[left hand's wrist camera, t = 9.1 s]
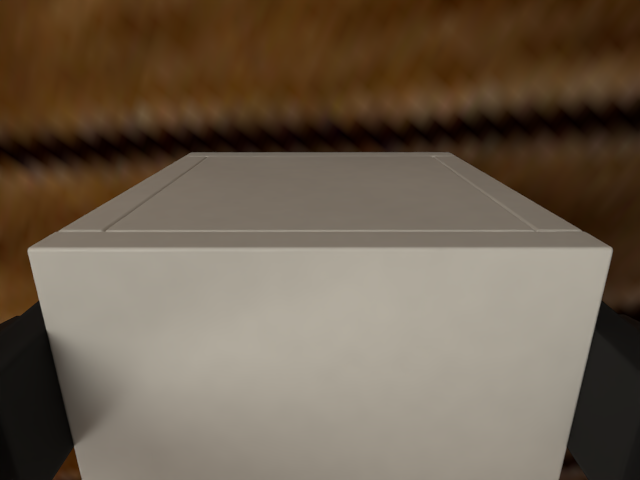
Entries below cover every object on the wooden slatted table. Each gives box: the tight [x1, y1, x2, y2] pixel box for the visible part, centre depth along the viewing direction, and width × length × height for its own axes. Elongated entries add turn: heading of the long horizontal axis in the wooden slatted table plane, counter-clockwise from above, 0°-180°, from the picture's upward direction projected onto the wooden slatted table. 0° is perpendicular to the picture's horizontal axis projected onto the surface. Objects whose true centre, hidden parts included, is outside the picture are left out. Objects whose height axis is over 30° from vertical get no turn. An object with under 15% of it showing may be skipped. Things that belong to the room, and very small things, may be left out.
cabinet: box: [28, 152, 613, 480], centre depth 15 cm, size 17×10×10 cm, turn 0°
